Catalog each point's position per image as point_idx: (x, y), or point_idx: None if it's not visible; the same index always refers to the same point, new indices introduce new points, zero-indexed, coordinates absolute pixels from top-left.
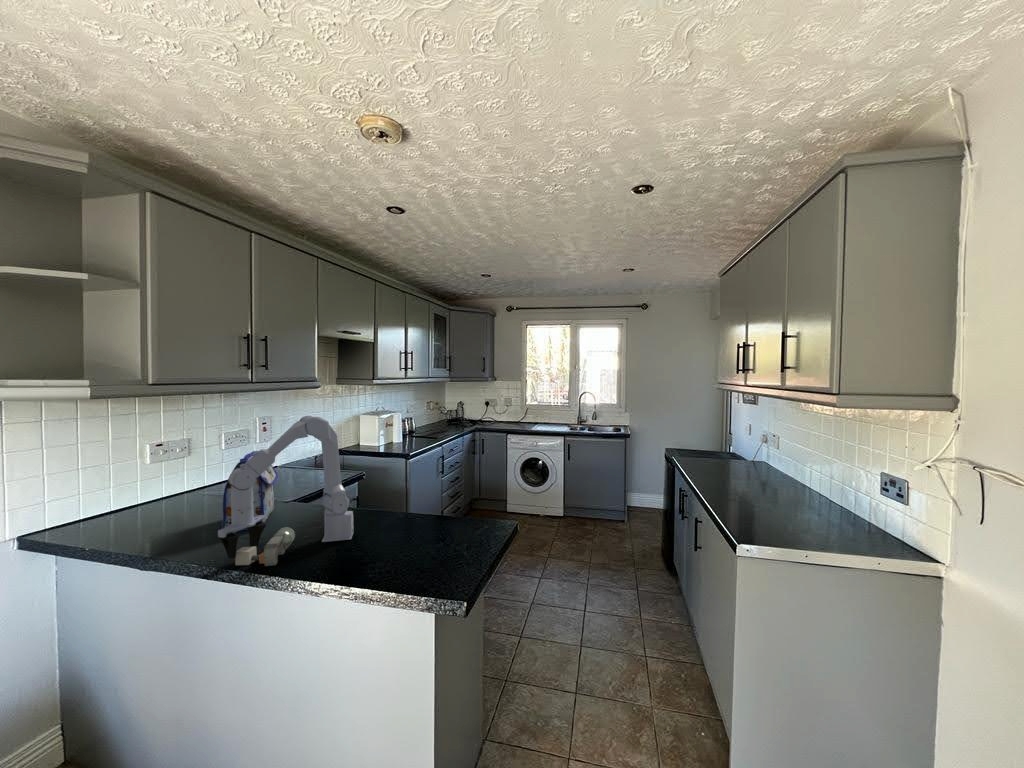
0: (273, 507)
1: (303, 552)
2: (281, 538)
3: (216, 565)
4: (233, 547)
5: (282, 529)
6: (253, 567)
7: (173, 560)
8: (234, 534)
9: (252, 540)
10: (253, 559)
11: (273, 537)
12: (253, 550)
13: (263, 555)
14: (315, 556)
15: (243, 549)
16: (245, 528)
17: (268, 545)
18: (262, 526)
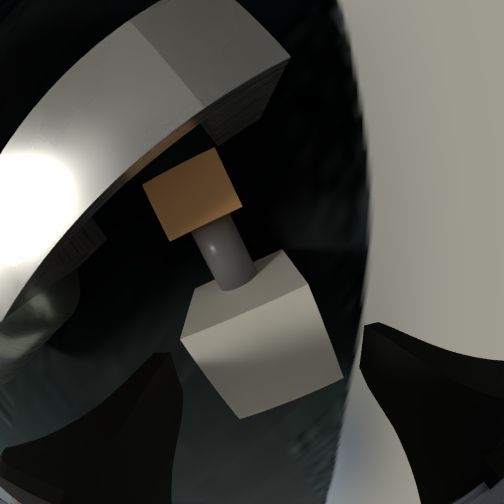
0: None
1: (26, 103)
2: (4, 152)
3: (337, 398)
4: (448, 353)
5: None
6: (302, 178)
7: (325, 496)
8: (486, 461)
9: (166, 425)
10: (249, 257)
11: (20, 266)
12: (230, 309)
13: (223, 167)
14: (63, 6)
15: (280, 376)
16: None
17: (231, 42)
18: (32, 478)
